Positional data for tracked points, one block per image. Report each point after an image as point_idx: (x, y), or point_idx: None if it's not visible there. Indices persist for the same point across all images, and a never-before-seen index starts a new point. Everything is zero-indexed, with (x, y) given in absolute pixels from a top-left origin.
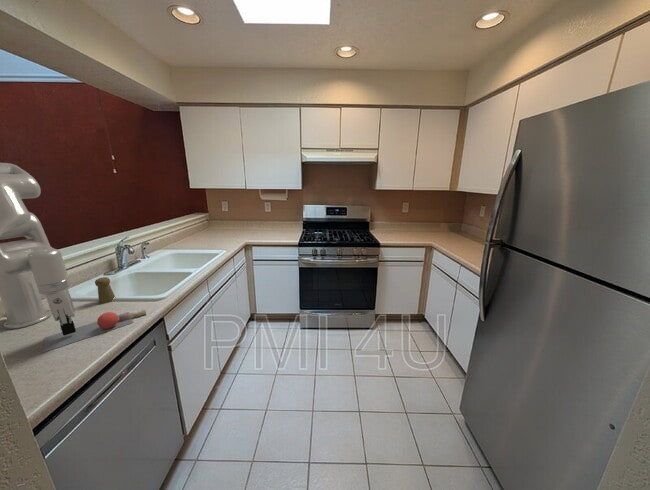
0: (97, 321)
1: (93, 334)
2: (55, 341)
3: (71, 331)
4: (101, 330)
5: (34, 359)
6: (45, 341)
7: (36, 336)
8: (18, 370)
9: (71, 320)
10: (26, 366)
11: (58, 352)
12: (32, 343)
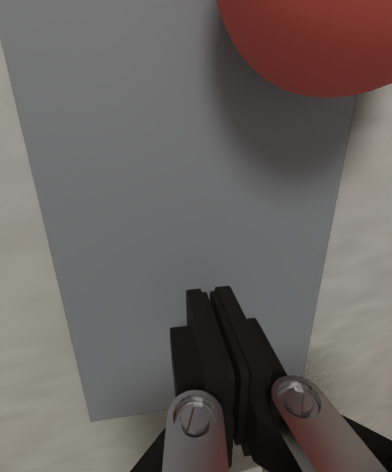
0: (374, 85)
1: (322, 155)
2: None
3: (252, 318)
4: None
5: (333, 400)
6: (161, 407)
7: (26, 458)
8: (374, 424)
9: (203, 393)
10: (369, 410)
11: (365, 328)
12: (125, 449)
